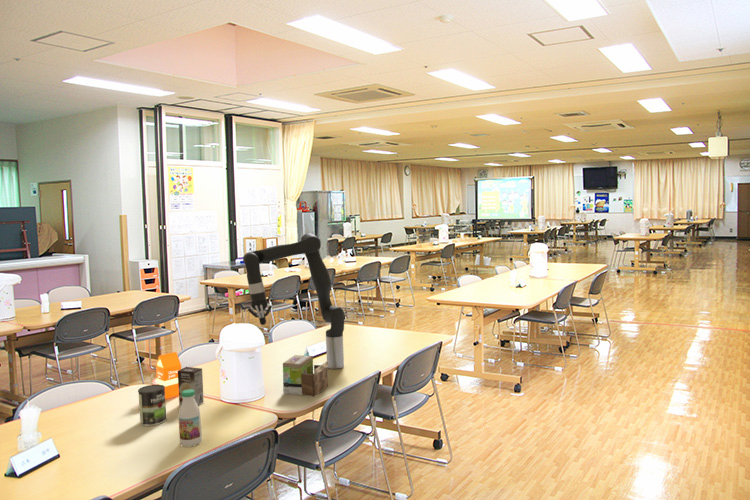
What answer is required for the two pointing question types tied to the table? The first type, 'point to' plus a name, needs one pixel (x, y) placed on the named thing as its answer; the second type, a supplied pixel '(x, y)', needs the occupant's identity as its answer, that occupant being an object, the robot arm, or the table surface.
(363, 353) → the table surface
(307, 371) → the tea box
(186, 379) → the coffee box
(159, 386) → the coffee can
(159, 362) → the orange juice
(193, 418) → the milk bottle
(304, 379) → the display stand
